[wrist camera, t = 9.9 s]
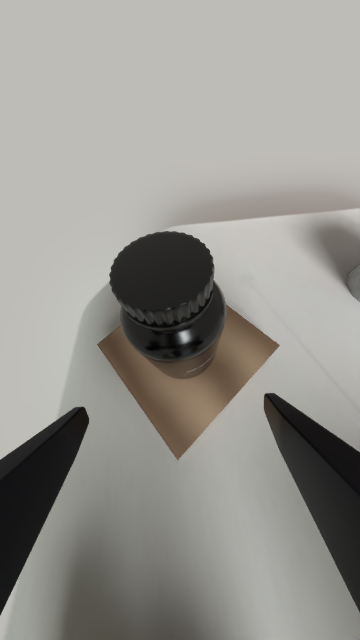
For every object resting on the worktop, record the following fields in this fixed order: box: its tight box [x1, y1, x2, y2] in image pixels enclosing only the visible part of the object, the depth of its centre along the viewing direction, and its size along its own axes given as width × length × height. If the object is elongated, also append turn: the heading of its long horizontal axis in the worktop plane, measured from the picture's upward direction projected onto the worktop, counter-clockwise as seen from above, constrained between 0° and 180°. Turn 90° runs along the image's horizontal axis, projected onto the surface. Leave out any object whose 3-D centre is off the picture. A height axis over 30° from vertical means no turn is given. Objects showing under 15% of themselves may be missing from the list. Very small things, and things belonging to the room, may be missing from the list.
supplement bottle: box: [109, 231, 226, 379], centre depth 13 cm, size 7×7×12 cm
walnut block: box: [97, 305, 280, 460], centre depth 20 cm, size 14×14×3 cm
